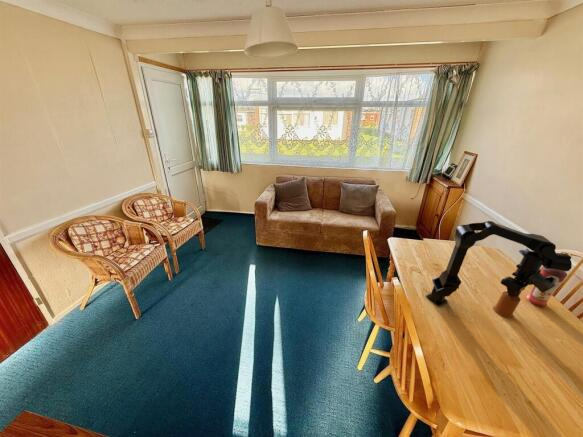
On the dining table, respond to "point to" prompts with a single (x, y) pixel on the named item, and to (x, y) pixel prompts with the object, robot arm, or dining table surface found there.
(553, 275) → the liquor
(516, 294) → the cap
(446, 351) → the dining table surface
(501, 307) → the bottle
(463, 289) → the dining table surface
